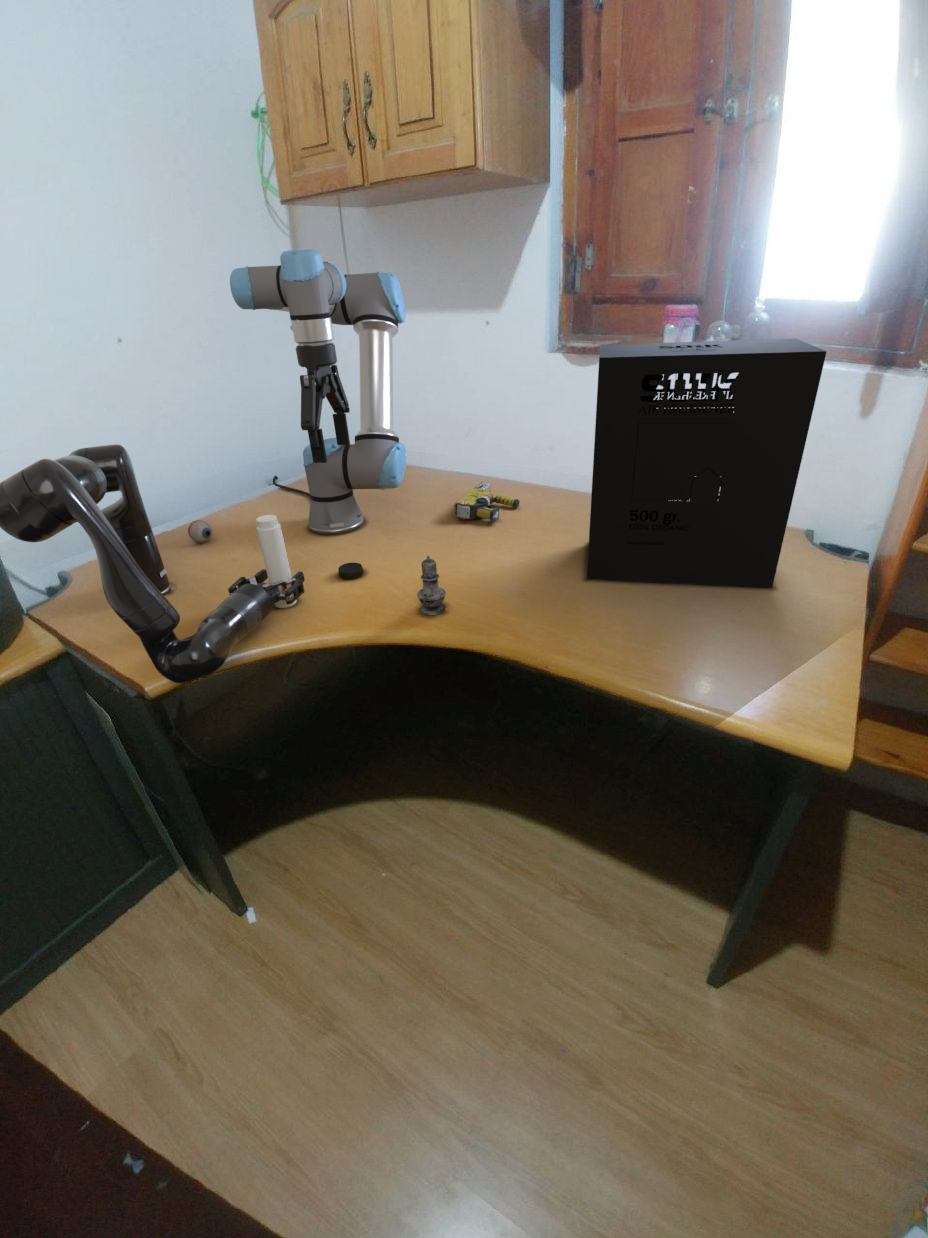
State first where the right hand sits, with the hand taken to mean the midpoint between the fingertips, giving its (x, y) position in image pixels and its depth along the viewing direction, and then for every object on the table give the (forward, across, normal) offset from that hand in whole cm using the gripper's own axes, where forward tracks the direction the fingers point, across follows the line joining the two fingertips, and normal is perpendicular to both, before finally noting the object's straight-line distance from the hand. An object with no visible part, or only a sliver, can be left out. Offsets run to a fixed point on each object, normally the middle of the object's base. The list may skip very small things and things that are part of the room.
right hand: (332, 453), depth 127 cm
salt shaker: (+28, +16, +23) cm, 40 cm away
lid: (+27, +1, 0) cm, 27 cm away
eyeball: (+28, -16, -48) cm, 58 cm away
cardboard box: (+28, -10, +73) cm, 79 cm away
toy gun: (+29, -44, +27) cm, 59 cm away
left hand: (+22, +14, -10) cm, 28 cm away
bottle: (+28, +15, -10) cm, 33 cm away
